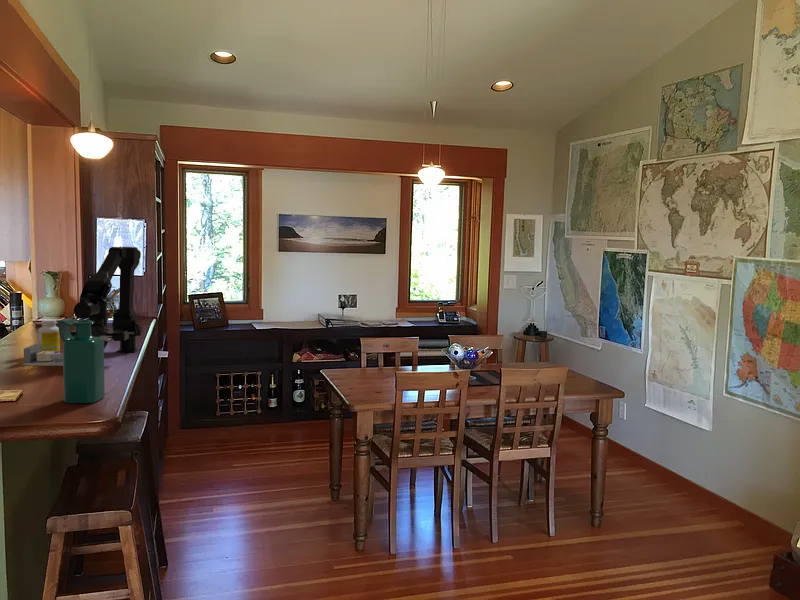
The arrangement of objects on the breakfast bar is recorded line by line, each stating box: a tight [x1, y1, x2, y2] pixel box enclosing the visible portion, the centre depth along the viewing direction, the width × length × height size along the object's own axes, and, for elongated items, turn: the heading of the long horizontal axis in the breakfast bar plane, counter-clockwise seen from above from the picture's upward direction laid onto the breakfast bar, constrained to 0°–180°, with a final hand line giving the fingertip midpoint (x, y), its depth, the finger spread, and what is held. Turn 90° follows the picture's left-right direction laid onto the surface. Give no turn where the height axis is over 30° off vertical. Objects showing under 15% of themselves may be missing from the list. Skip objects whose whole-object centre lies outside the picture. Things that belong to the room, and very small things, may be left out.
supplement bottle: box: [38, 319, 61, 353], centre depth 223 cm, size 7×7×13 cm
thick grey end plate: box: [37, 351, 63, 361], centre depth 212 cm, size 8×13×3 cm, turn 98°
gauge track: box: [22, 343, 63, 367], centre depth 212 cm, size 10×14×6 cm
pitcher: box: [57, 317, 106, 404], centre depth 168 cm, size 10×8×22 cm
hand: (98, 360), depth 214 cm, fingers closed
